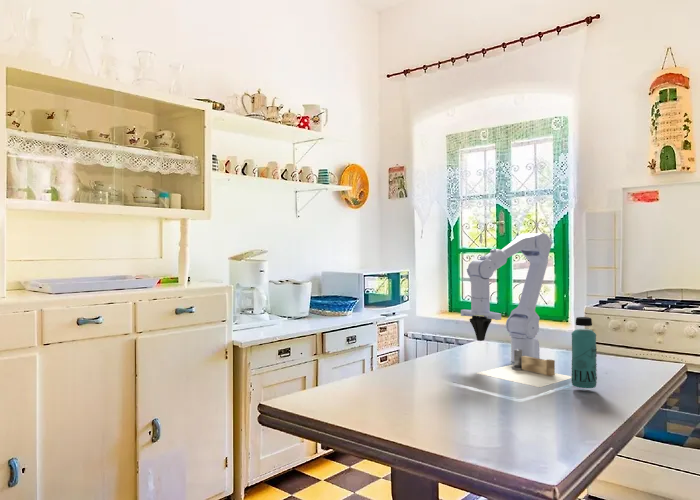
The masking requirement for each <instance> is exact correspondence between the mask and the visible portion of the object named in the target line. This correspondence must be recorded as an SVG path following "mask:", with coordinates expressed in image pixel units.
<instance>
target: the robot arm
mask: <svg viewBox="0 0 700 500" xmlns="http://www.w3.org/2000/svg"><path fill="white" fill-rule="evenodd" d="M552 244H553V243H552V242H551V239H550V237H549V235H548V234H547V233H544V232H540V233H520V235H517V236H515V239H513V240H512V241H510V243H508V244H506V245H505V246H504V247H503V248H502V249H500V248H492V249H490V251H489V253H487V254H486V255H482V256H480V258H479V259H474V260H471V261H470V263H468V265H467V266H468V267H467V268H466V272H467V276H468V277H469V282H470V299H471V300H470V303H471V304H470V305H471V306H470V307H471V308H470V309H460V316H462V317H465V316H466V317H471V318H469V323H470V324H471V326H472V328H473V330H474V333H475V337H476V341H478V342H482V341H485V338H486V335H487V332H488V328H489V326H490V325H491V323H492V321H493V320H494V321H500V320H502V313H499V312H496V311H495V312H494V311H490V309H491V308H490V307H491V306H490V305H491V304H490V303H491V302H490V299H491V298H490V296H491V295H490V293H491V292H490V278H492V276H493V275H494V272H495V271H496V270H498V269H499V268H501V267H502V266H505V265H506V264H507V261H508V258H510V257H513V256H514V255H516V254H517V253H521V254H522V255H523V256H524V258H526V260H528V262H529V267H528V270H527V272H526V277H525V281H524V285H523V289H522V291H521V296H520V299H519V301H518V305H517V307H515V308H514V309H512V310H511V311H510V314H509V316H508V318H507V319H506V322H505V329H506V331H507V333H509V337H510V357H511V362H512V363H514V349H521V350H522V356H529V357H534V358H539V359H541V358H540V357H541V355H540V341H539V340H538V338H537V337H536V336H537V335H538V333H539V330H540V326H539V325H540V316H539V314H538V313H537V311H536V307H537V303H538V299H539V296H540V292H541V290H542V289H541V288H542V287H543V286H542V285H543V282H544V278H545V274H546V270H547V268H548V262H549V255H550V252H551V248H552Z"/></svg>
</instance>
